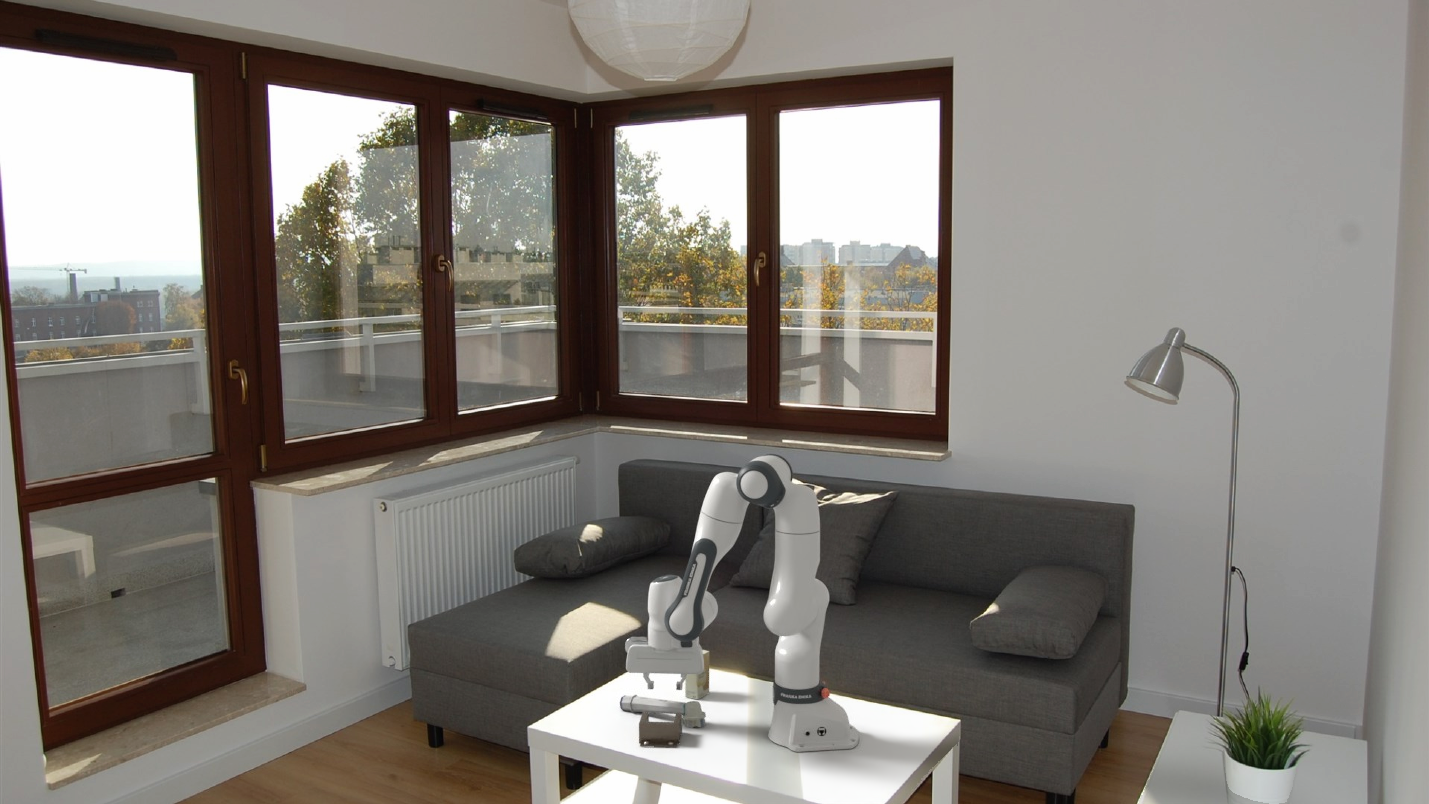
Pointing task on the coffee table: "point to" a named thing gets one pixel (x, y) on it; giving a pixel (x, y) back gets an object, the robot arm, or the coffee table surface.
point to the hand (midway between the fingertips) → (665, 689)
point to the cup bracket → (660, 732)
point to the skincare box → (698, 681)
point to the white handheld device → (665, 708)
